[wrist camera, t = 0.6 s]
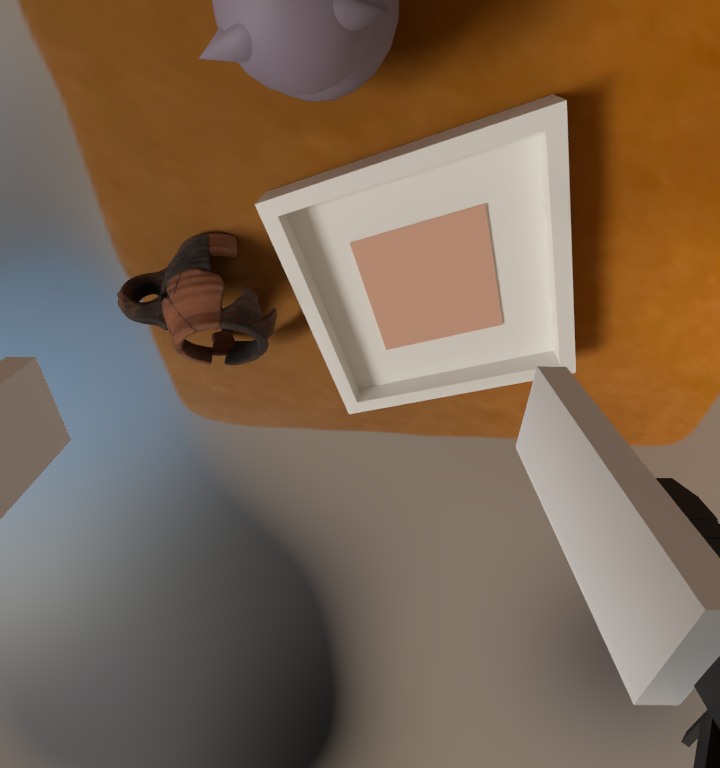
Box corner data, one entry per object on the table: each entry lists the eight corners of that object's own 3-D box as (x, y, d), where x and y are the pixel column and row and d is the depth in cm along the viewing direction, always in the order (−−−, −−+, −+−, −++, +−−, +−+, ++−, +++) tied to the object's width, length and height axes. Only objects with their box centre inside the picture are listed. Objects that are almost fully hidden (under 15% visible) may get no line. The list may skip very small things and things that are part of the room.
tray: (553, 94, 27) (566, 99, 25) (565, 352, 39) (575, 372, 36) (265, 192, 32) (254, 204, 30) (352, 393, 44) (349, 414, 41)
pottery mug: (273, 226, 34) (277, 316, 31) (275, 295, 43) (278, 371, 40) (106, 221, 32) (93, 317, 29) (143, 295, 41) (136, 376, 38)
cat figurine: (389, -108, 23) (375, -208, 13) (410, 75, 27) (410, 97, 18) (236, -58, 24) (127, -115, 15) (280, 106, 29) (219, 141, 20)
